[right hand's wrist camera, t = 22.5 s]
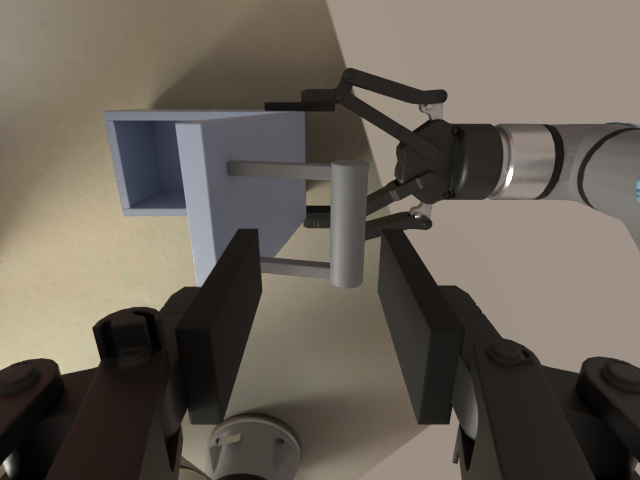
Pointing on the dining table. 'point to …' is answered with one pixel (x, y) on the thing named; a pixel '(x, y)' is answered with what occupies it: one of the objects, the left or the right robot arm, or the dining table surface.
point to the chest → (154, 156)
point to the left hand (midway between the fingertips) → (269, 162)
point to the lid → (267, 194)
